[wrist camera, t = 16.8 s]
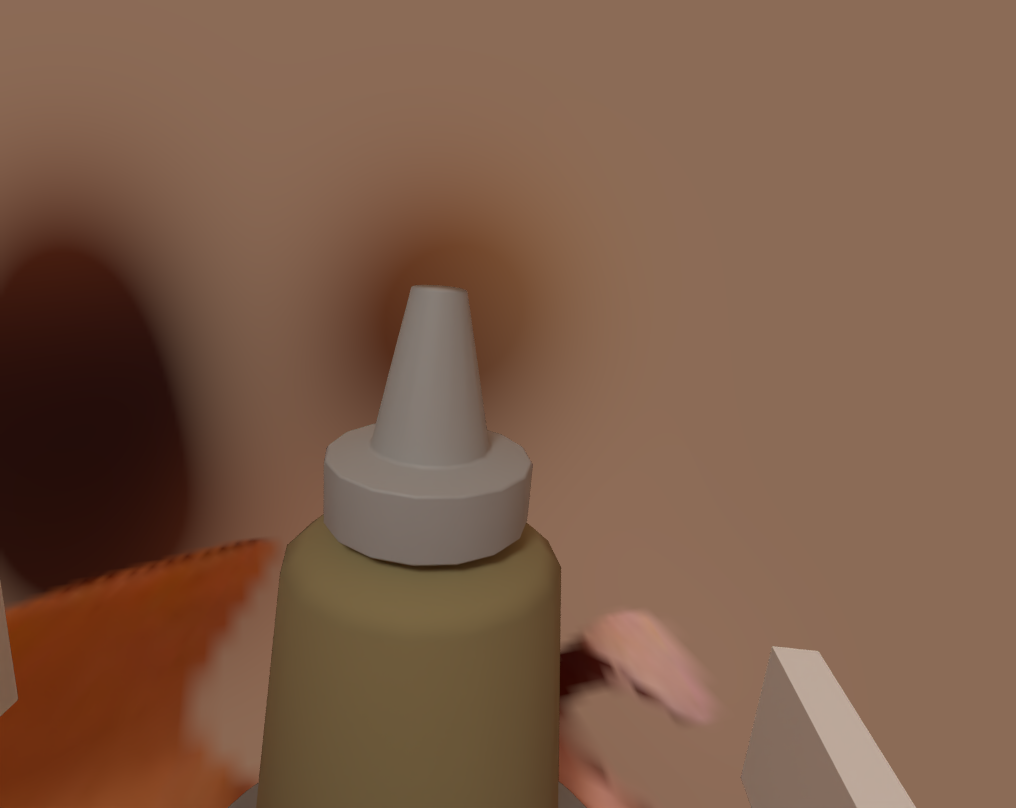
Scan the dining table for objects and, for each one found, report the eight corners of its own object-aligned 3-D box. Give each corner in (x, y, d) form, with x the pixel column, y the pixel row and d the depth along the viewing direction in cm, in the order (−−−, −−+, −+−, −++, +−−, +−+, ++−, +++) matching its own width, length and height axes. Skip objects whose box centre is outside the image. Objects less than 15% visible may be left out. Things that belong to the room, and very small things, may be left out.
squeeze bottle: (487, 772, 24) (535, 272, 19) (595, 1019, 17) (720, 330, 12) (249, 834, 21) (228, 258, 16) (261, 1167, 14) (232, 324, 9)
